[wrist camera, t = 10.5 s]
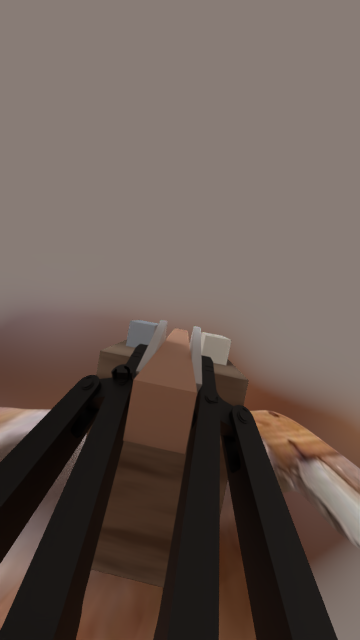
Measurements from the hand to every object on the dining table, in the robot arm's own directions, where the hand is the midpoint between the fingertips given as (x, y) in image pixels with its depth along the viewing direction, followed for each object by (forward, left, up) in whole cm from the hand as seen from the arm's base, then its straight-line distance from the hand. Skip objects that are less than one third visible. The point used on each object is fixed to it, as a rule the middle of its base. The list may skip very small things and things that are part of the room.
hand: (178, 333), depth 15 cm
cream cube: (-1, +9, -4) cm, 10 cm away
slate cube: (-9, +1, -4) cm, 10 cm away
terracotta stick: (-2, +2, -4) cm, 5 cm away
